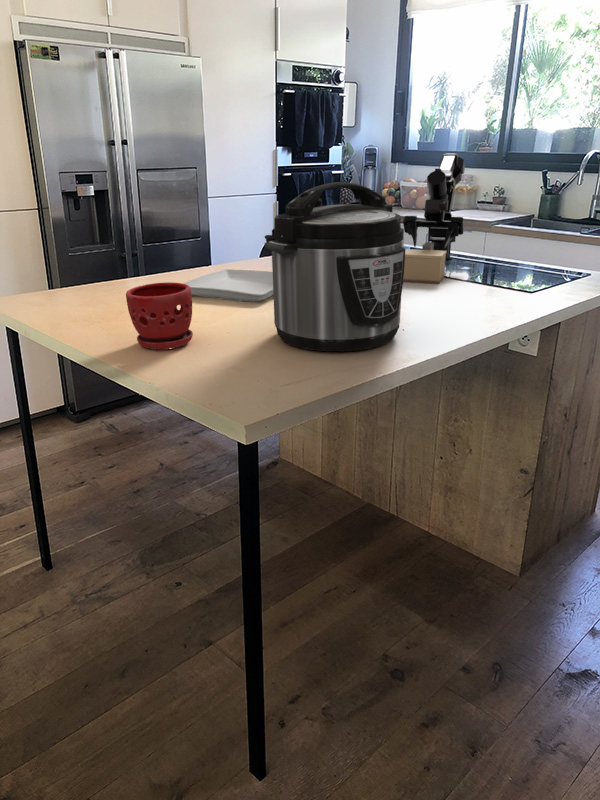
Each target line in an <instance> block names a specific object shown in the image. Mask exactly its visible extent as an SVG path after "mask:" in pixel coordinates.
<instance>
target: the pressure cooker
mask: <svg viewBox="0 0 600 800" xmlns="http://www.w3.org/2000/svg"><path fill="white" fill-rule="evenodd" d="M340 188H341V189H349V190H350V191H351V193H352V194H353V195H354V196H355V198H356V199H357V200H358V202H359V203H358V204H357V203H356V204H350V203H349V204H348V203H345V204H344V203H343V204H327V205H323V204H324V203H322V201H323V200H324V199H323V198H322V197H321V196H322V194H323V192H325V191H330V190H337V189H340ZM401 219H402V218H401V215H400V214H398V213H396V212H393V206H392V205H391V204H386V198H385V197H383V196H382V195H381V194H379V193H378V192H377V191H375V190H373V189H371V188H369V187H367V186H365V185H362V184H358V183H354V182H349V181H348V182H347V181H346V182H345V181H342V182H341V181H338V182H337V181H336V182H328V183H324V184H321V185H318V186H314V187H312V188H309V189H307V190H305V191H304V192H302V193H300V194H299V195H298V196H296V197H294V198H293V199H292V200H291V201H289V202H288V203H287V204H286V205H285V213H283V214H277V215H275V217H274V219H273V221H274V222H273V223H274V226H273V229H271V234H266V235H264V239H265V241H266V242H265V241H264V248H265V249H268V250H269V251H270V250H271V267H272V271H271V272H273V295H272V296H273V315H274V319H273V321H274V326H275V329H276V332H277V335H278V336H279V338H280V339H281V340H282V341H283V342H285V343H286V344H288V345H290V346H292V347H296V348H301V349H307V350H312V351H322V352H323V351H324V352H350V351H351V352H353V351H362V350H367V349H372V348H375V347H376V348H377V347H380V346H383V345H385V344H387V343H389V342H390V341H392V340H393V339H394V338H395V336H396V335H397V333H398V332H399V331H398V330H399V328H400V324H401V312H402V311H401V308H402V293H403V286H404V285H403V284H404V282H403V277H404V266H405V249H406V248H405V247H404V246H405V245H404V244H405V239H404V238H405V237H404V236H405V235H404V233H405V231H404V228H402V227H401V222H402V221H401Z"/></svg>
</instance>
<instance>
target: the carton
mask: <svg viewBox="0 0 600 800" xmlns="http://www.w3.org/2000/svg"><path fill="white" fill-rule="evenodd" d="M445 258H446V255H445V256H444V257H443V258H442V259H433V258H410V257H405V266H404V277H403V283H415V284H416V283H418V284H434V285H435V284H436V285H440V284H441V283H442V281H443V279H444V278H445V272H446V271H445V268H446V260H445Z"/></svg>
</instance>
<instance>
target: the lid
mask: <svg viewBox="0 0 600 800" xmlns="http://www.w3.org/2000/svg"><path fill="white" fill-rule="evenodd" d="M433 249H434V242H431V241H430V242H428V241H425V243H424V244H422V249H413V248H412V249H411V248H409V249H408V248H407V249H406V248H405V257H410V258H433V259H442V258H443V257H444V256H445V255H446V253H447V251H441V250H433Z"/></svg>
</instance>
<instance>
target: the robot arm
mask: <svg viewBox="0 0 600 800" xmlns="http://www.w3.org/2000/svg"><path fill="white" fill-rule="evenodd" d="M441 157H442V158H440V160H439V166H438V167H439V168H435V169H434V171H432V172H430V173H429V174H428V175H427V177H426V179H427V181H426V184H427V185H426V186H427V191H428V195H429V199H426V200H425V202H424V215H423V217H424V219H418V215H405V216H404V217H403V221H402V224H403V229H404V233H406V234H407V235H408V236H411V239H412V242H413V248H416V246H417V243H418V242H417V241H418V228H427V229H428V231H427V232H428V234H427V235H428V238H427V239H428V241H427V242H434V249H433V250H441V251H447V253H446V258H445V261H447V260H450V261H451V260H453V259H454V258H453V257H451V249H452V247H451V246H452V243H456V240H457V239H456V238H457V237H459V236H462V235H463V234H464V231H465V219H464V218H463V216H452V212H451V211H452V207H453V202H454V196H455V190H456V186H457V185H458V183H460V182H461V181H462V177H463V175H464V174H465V166H466V164H465V160H464V159H463V158H461V157H460V156H459V153H455V152H454V153H452V152H451V153H449V152H447V153H443V154H442V156H441Z"/></svg>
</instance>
